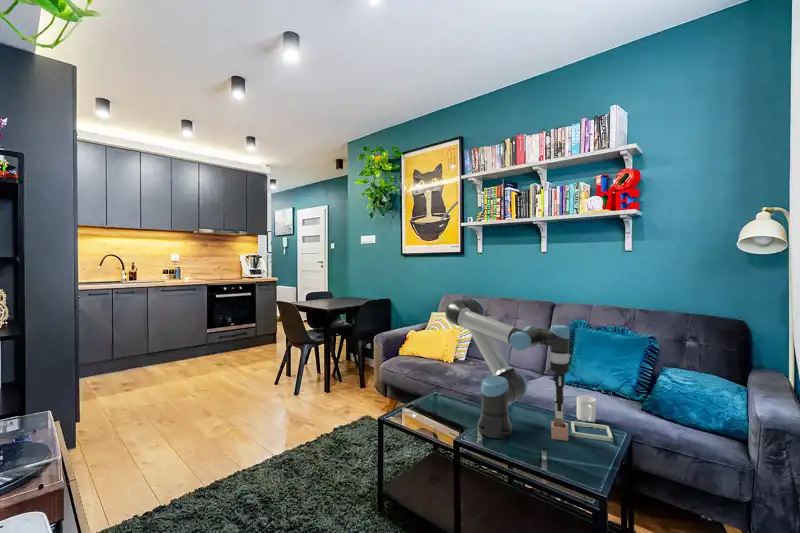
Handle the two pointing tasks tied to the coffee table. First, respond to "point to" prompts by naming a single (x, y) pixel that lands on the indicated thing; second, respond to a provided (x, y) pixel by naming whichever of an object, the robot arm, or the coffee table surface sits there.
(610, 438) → the tray
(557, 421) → the pin
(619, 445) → the coffee table surface
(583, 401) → the cup
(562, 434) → the holder
